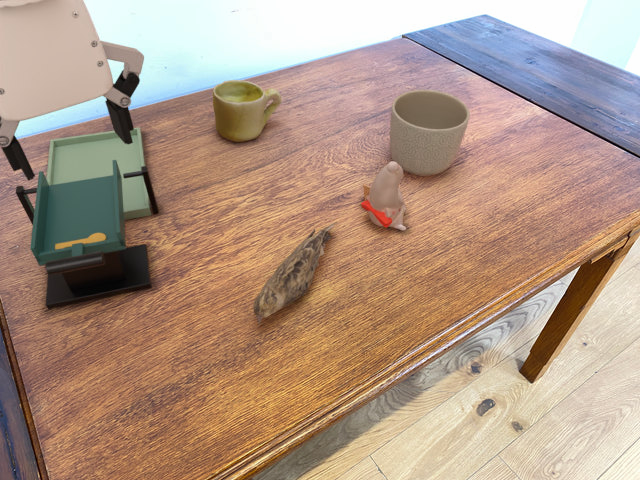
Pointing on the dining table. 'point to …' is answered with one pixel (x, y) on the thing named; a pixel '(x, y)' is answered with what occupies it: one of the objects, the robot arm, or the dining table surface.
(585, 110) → the dining table surface
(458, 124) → the planter
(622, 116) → the dining table surface
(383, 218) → the figurine
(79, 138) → the tray
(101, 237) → the key
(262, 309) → the bird model
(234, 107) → the mug
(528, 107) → the dining table surface
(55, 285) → the stand
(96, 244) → the scoop
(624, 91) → the dining table surface
